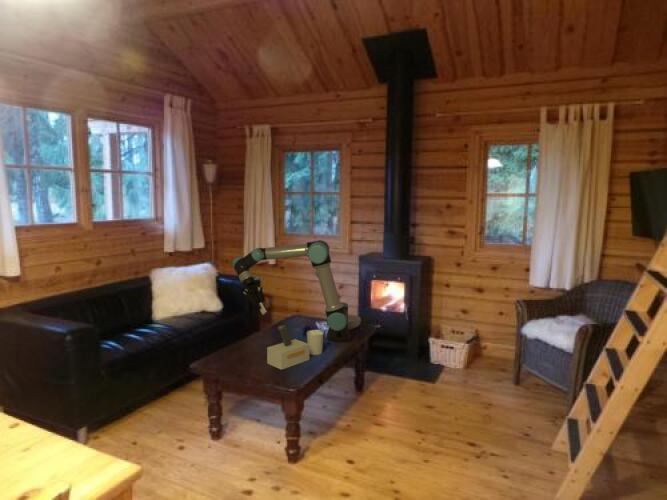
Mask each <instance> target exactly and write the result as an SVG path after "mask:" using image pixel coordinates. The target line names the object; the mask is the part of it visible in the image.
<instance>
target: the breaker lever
mask: <svg viewBox="0 0 667 500" xmlns="http://www.w3.org/2000/svg"><path fill="white" fill-rule="evenodd" d="M277 331H279V334H280V336H281V339H282V343H284V345H285V346H287V345H290V344H292V342H291V340H292V339H291V335H290V334H289V332H288V324H282V325H278V326H277Z"/></svg>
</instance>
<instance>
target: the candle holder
mask: <svg viewBox="0 0 667 500" xmlns="http://www.w3.org/2000/svg"><path fill="white" fill-rule="evenodd" d="M306 341H307V342H306V343H307V344H309V355H312V356H318V355H321V354H322V353H323V347H324V346H323V345H324V331H323V330H320V329H311V330H307V331H306Z"/></svg>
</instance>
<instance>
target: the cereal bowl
mask: <svg viewBox="0 0 667 500" xmlns="http://www.w3.org/2000/svg"><path fill="white" fill-rule="evenodd" d="M361 319H362V318H361V317H360V316H358V315H354V314H348V329H349V331H350V330H354V329H355V328H357V327H358V326H360V324H361V322H362V320H361Z"/></svg>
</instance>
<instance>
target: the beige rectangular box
mask: <svg viewBox="0 0 667 500" xmlns="http://www.w3.org/2000/svg"><path fill="white" fill-rule="evenodd" d="M291 342H292V344H290V345H287V346H285V345H284V342H281V343H277V344H275V345H271V346H268V347H266V350H267V351H266V353H267V354H266V356H267V357H266V363H267V364H268V365H270V366H272V367H275V368H277V369H279V370H284V369H288V368H290V367H293V366H296V365H298V364H302V363H304V362H306V361H309V360H310V354H309V344H307V342H304V341H302V340H298V339H296V338H293V339H291Z"/></svg>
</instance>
